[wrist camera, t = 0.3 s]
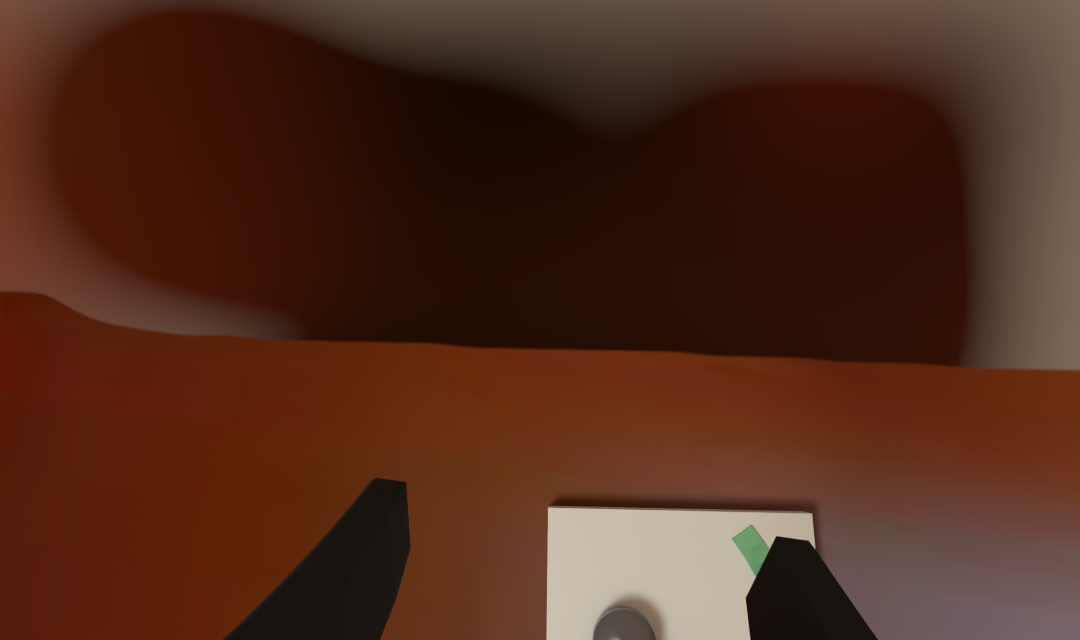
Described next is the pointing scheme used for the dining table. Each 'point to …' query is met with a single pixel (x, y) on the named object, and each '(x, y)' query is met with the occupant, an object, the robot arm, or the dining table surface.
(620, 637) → the dark grey elongated piece
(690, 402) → the dining table surface
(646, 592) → the dial board
